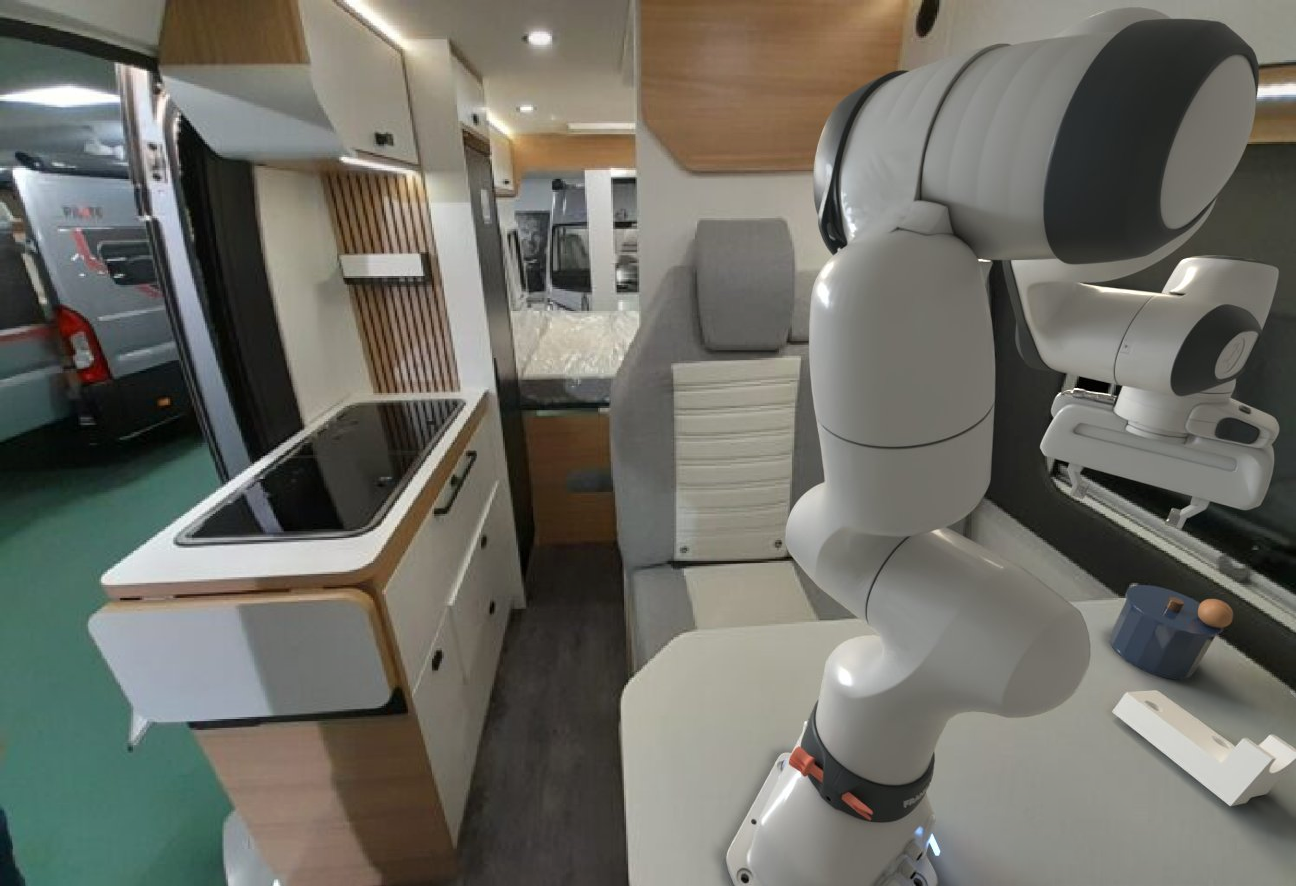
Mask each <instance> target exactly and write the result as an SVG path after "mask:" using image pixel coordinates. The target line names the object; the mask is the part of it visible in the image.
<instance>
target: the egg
mask: <svg viewBox="0 0 1296 886" xmlns="http://www.w3.org/2000/svg"><path fill="white" fill-rule="evenodd" d="M1199 603H1200V605H1199V608H1198V616H1199V618H1200V619H1201V620H1202V621H1203V622H1204V623H1205V624H1207V625H1209V626H1212V627H1217V628H1222V627H1223V628H1226V627H1228V626H1229V625H1231V623H1232V622H1233V618H1234V612H1233V609H1232V607H1231V606H1230V605H1229V604H1228V603H1227V602H1225V601H1223V600H1220V599H1217V598H1208V599H1204V600H1203V601H1201V602H1199Z"/></svg>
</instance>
